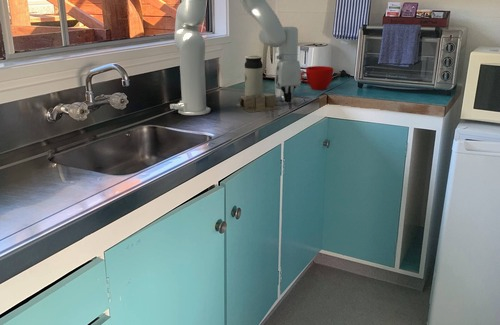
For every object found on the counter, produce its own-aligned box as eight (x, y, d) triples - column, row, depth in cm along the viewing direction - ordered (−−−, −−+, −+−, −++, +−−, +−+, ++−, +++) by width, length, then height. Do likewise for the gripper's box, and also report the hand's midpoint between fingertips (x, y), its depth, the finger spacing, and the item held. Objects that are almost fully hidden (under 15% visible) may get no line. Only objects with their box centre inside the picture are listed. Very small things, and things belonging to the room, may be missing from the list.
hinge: (249, 112, 199) (249, 100, 197) (236, 106, 210) (235, 94, 208) (280, 108, 204) (280, 96, 203) (266, 102, 215) (266, 91, 214)
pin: (250, 107, 204) (250, 99, 203) (247, 105, 207) (247, 97, 205) (284, 103, 210) (284, 95, 209) (281, 101, 213) (281, 94, 212)
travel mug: (263, 94, 231) (263, 55, 225) (261, 98, 224) (261, 57, 218) (246, 94, 232) (245, 55, 226) (244, 98, 224) (243, 57, 219)
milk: (274, 95, 229) (274, 46, 222) (286, 94, 231) (287, 45, 224) (280, 98, 224) (280, 47, 217) (292, 97, 226) (293, 47, 219)
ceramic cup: (293, 88, 245) (293, 67, 242) (322, 85, 252) (323, 65, 249) (307, 93, 234) (307, 71, 231) (337, 89, 241) (338, 68, 238)
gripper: (276, 60, 200) (276, 105, 206) (308, 57, 206) (307, 101, 212) (267, 57, 207) (267, 101, 213) (299, 55, 213) (298, 98, 219)
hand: (287, 101), depth 212 cm, fingers closed
